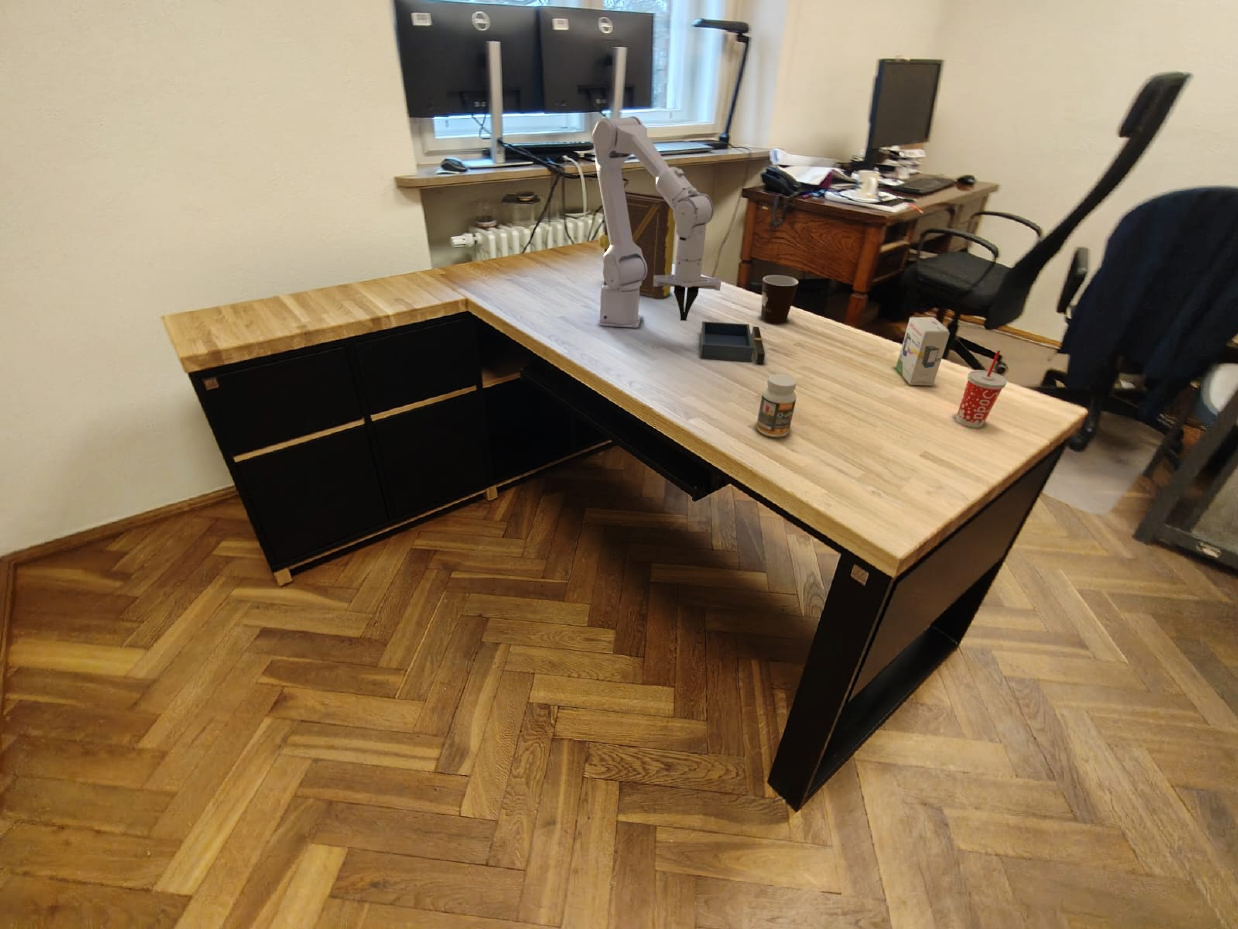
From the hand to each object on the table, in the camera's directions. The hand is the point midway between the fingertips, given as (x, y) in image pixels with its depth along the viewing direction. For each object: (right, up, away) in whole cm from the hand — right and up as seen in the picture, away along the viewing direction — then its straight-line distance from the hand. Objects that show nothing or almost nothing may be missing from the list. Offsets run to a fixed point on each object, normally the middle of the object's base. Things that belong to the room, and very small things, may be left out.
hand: (683, 319), depth 132 cm
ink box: (+48, -14, -8) cm, 50 cm away
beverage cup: (+51, -25, -23) cm, 61 cm away
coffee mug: (+26, +5, +20) cm, 33 cm away
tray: (+10, -6, +3) cm, 12 cm away
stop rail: (+17, -6, +2) cm, 18 cm away
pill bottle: (+13, -27, -27) cm, 40 cm away
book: (-10, +17, +36) cm, 41 cm away
